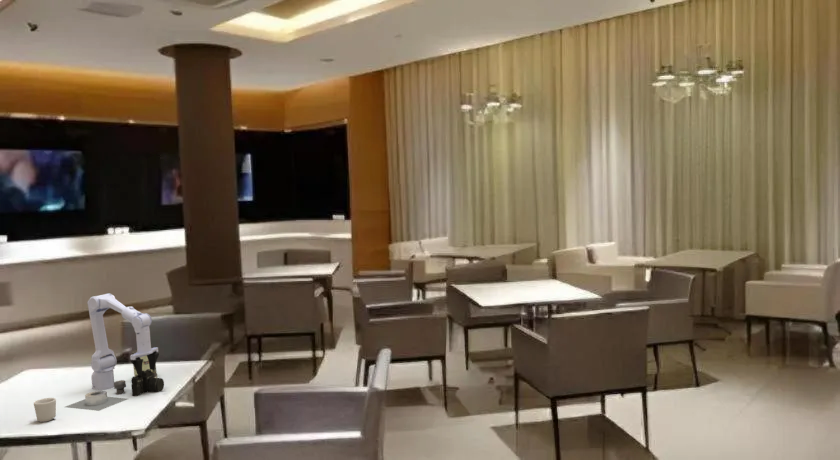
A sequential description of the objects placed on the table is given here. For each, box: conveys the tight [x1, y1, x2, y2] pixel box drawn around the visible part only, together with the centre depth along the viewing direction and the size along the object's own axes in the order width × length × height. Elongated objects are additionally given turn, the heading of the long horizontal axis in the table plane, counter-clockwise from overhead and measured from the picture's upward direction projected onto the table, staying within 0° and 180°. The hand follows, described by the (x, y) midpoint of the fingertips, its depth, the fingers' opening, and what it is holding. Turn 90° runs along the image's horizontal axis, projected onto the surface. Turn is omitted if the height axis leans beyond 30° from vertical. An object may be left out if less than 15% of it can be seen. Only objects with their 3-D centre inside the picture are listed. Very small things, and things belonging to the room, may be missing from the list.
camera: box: [130, 369, 165, 397], centre depth 317 cm, size 14×11×10 cm
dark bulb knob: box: [113, 379, 127, 395], centre depth 317 cm, size 5×5×6 cm
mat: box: [64, 396, 128, 412], centre depth 304 cm, size 20×16×1 cm
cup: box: [33, 397, 57, 423], centre depth 289 cm, size 11×8×8 cm
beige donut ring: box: [84, 390, 108, 406], centre depth 304 cm, size 8×8×4 cm
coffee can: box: [131, 348, 158, 378], centre depth 342 cm, size 10×10×14 cm
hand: (146, 371), depth 316 cm, fingers open, 7 cm apart
